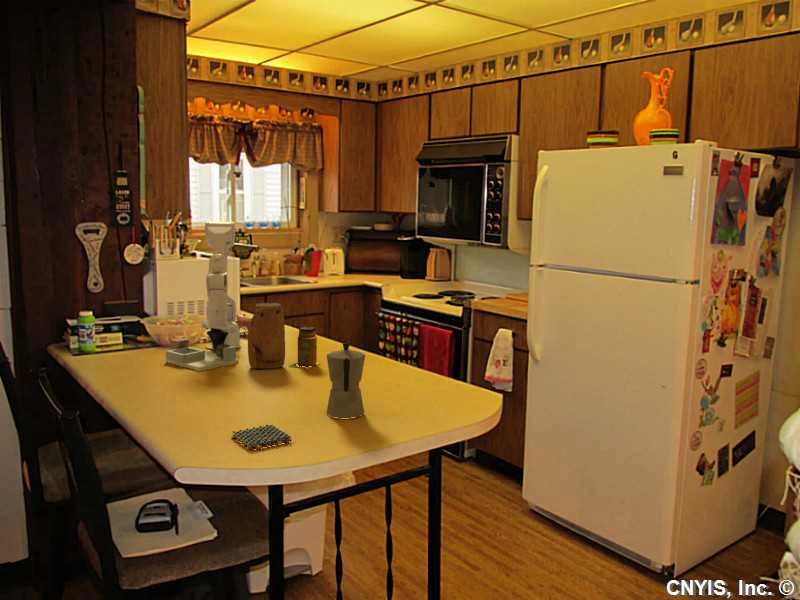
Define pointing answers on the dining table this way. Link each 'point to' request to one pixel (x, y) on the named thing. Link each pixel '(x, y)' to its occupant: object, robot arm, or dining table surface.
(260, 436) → the woven mat
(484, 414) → the dining table surface
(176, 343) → the walnut block
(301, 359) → the condiment
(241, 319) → the bull figurine
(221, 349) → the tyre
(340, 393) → the coffeepot
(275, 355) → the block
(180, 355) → the chassis
